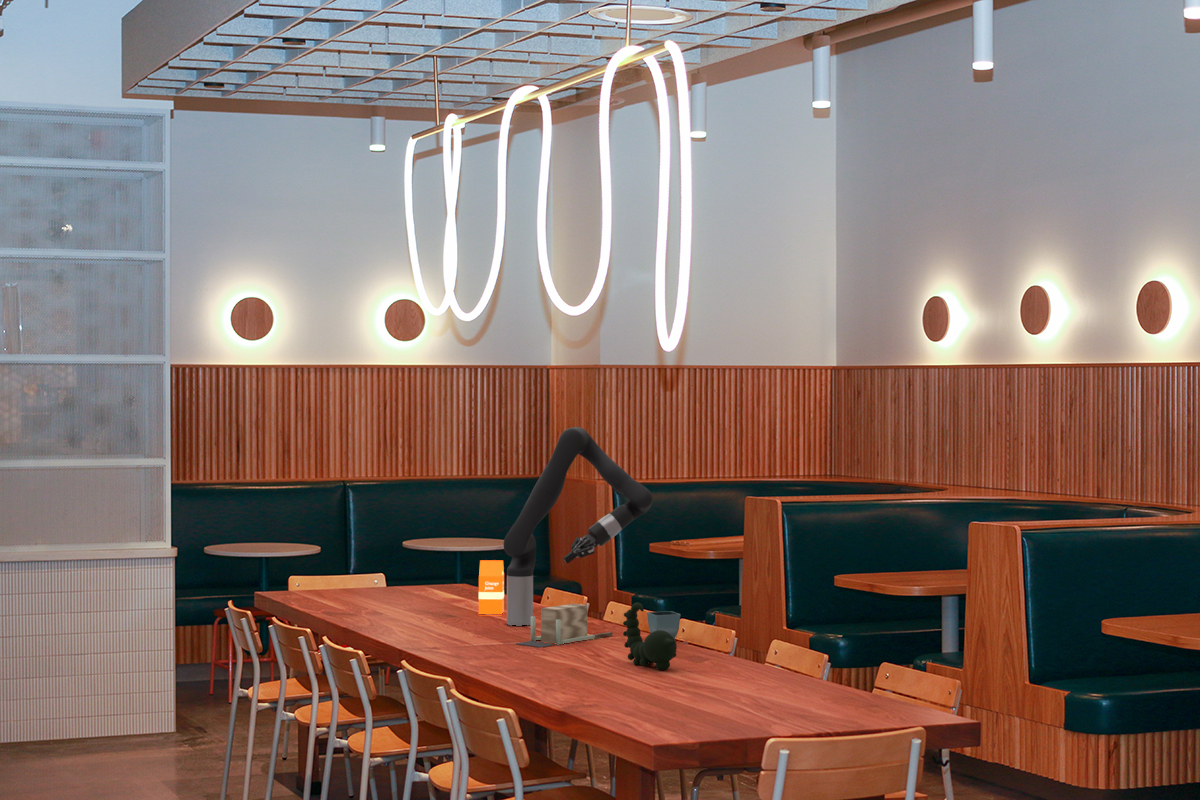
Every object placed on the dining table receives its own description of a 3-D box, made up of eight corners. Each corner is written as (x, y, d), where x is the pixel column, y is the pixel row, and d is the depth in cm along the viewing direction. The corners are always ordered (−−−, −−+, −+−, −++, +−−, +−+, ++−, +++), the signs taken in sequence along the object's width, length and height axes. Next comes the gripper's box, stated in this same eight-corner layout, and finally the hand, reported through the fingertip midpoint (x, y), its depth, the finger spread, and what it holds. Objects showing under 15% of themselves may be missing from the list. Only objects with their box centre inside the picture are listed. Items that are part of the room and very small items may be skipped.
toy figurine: (616, 667, 404) (661, 673, 382) (614, 603, 406) (658, 604, 384) (644, 665, 409) (689, 670, 387) (641, 601, 411) (686, 602, 389)
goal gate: (566, 635, 457) (566, 611, 457) (594, 639, 449) (594, 614, 449) (529, 641, 443) (529, 616, 444) (558, 645, 435) (558, 620, 435)
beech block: (573, 636, 455) (573, 603, 455) (587, 638, 451) (587, 605, 451) (540, 642, 442) (541, 608, 443) (554, 644, 438) (554, 609, 439)
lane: (583, 632, 464) (583, 628, 464) (612, 636, 456) (612, 632, 456) (566, 635, 457) (566, 631, 457) (594, 639, 449) (594, 635, 449)
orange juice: (502, 615, 506) (502, 561, 507) (478, 615, 507) (478, 561, 507) (504, 612, 514) (504, 559, 515) (480, 612, 514) (480, 559, 515)
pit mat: (530, 641, 443) (530, 640, 443) (556, 645, 436) (556, 644, 436) (515, 644, 437) (515, 643, 437) (541, 647, 430) (541, 646, 430)
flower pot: (646, 639, 449) (646, 611, 449) (671, 638, 452) (671, 610, 452) (655, 643, 441) (655, 615, 441) (681, 642, 443) (681, 614, 444)
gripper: (591, 516, 470) (552, 547, 466) (607, 526, 458) (566, 558, 455) (602, 532, 473) (563, 563, 469) (618, 543, 461) (578, 575, 457)
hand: (565, 560), depth 462 cm, fingers closed
